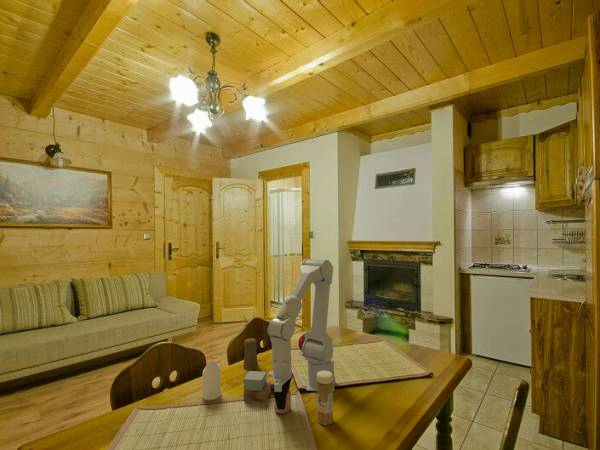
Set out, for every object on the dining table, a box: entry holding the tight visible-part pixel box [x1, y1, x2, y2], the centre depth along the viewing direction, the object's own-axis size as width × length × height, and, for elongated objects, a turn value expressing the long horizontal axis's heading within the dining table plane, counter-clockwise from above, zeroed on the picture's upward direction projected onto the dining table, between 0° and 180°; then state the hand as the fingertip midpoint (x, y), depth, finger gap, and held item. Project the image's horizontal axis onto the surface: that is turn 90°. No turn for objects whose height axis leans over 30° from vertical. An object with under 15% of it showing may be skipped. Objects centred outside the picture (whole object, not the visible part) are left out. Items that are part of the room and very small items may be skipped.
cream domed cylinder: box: [201, 360, 222, 401], centre depth 104 cm, size 6×12×6 cm
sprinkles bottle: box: [316, 371, 334, 426], centre depth 89 cm, size 5×5×13 cm
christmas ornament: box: [297, 330, 310, 353], centre depth 139 cm, size 9×9×10 cm
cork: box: [242, 337, 259, 371], centre depth 126 cm, size 6×6×11 cm
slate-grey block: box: [243, 370, 267, 391], centre depth 104 cm, size 6×6×4 cm
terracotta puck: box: [273, 390, 292, 414], centre depth 94 cm, size 5×5×4 cm
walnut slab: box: [243, 380, 272, 403], centre depth 104 cm, size 8×8×4 cm
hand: (282, 403), depth 94 cm, fingers closed on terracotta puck, 5 cm apart
